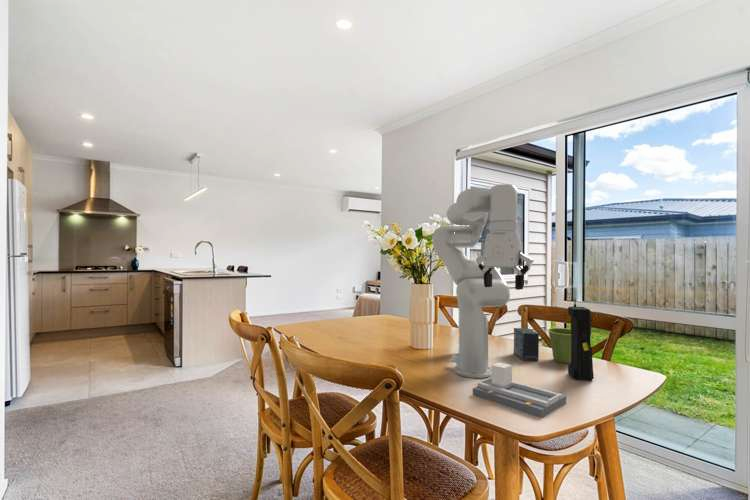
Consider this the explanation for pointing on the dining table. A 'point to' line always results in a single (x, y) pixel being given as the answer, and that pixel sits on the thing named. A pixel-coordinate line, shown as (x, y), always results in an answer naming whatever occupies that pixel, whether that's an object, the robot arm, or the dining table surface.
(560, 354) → the plant pot
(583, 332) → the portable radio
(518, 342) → the small box
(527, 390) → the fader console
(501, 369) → the fader tab
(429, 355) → the dining table surface
